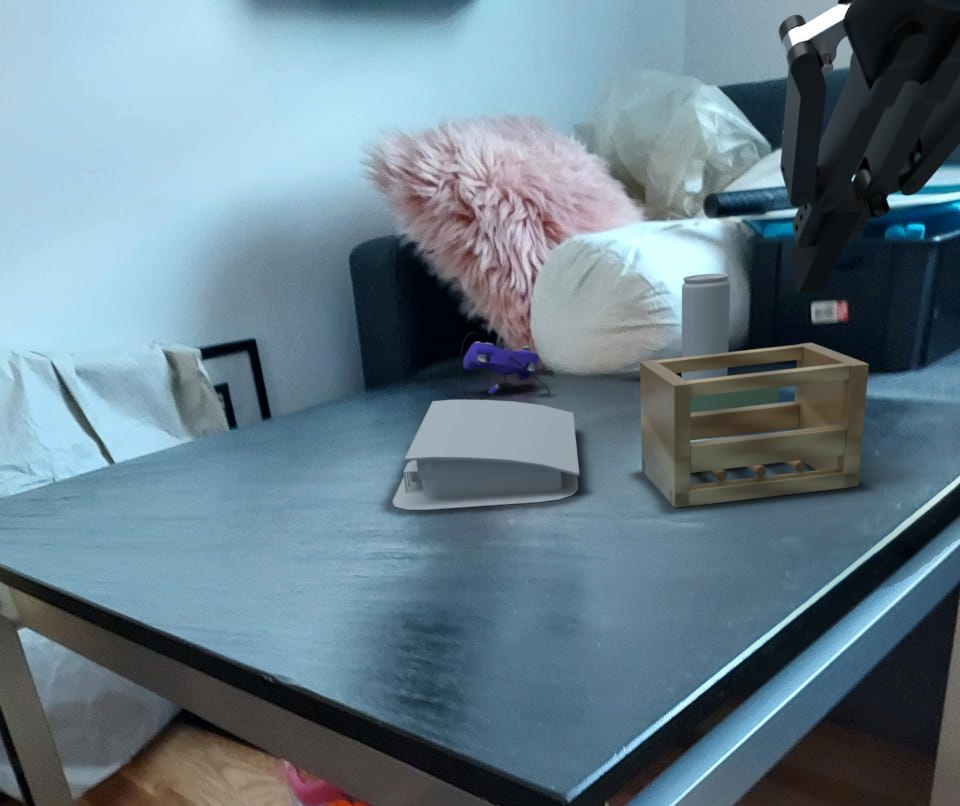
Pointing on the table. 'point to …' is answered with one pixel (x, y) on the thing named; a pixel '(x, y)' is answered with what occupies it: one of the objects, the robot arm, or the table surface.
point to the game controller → (500, 361)
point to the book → (489, 456)
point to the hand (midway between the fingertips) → (805, 274)
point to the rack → (753, 425)
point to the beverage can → (705, 320)
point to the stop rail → (734, 400)
